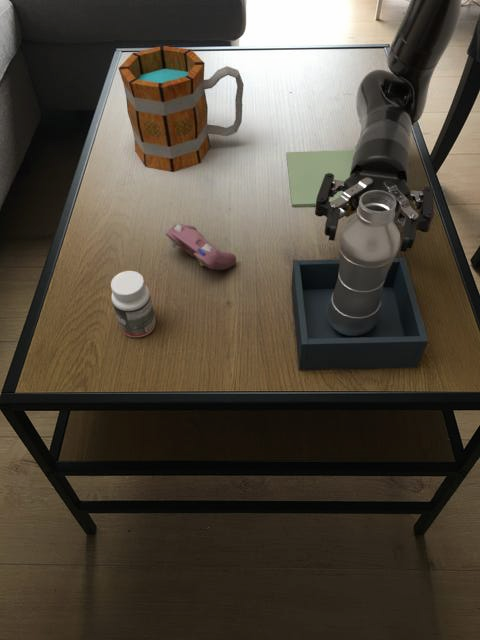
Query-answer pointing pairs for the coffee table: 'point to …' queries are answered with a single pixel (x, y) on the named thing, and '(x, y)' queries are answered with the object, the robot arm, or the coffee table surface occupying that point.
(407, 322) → the bin
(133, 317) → the pill bottle
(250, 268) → the coffee table surface
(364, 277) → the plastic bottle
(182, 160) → the mug
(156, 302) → the coffee table surface
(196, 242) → the pink curved plastic piece
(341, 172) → the mat
